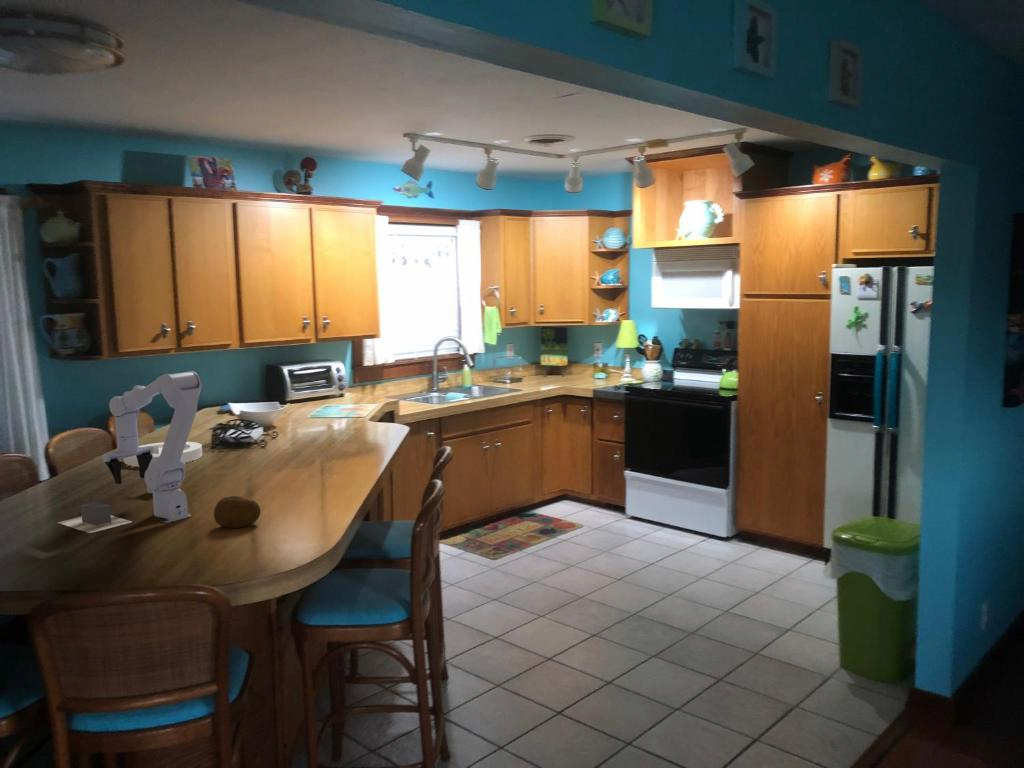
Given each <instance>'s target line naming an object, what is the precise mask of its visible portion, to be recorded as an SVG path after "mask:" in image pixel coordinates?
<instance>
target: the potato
mask: <svg viewBox="0 0 1024 768" xmlns="http://www.w3.org/2000/svg"><path fill="white" fill-rule="evenodd" d="M260 516H261V508H260V506H259V503H257V502H256V501H255V500H252V499H248V498H247V499H246V498H243V497H242V496H238V495H231V496H225V497H223V498H221V499H220V500H219V501H218V502H217V503H216V505H215V507H214V510H213V519H214V521H215V522H216V524H217V525H218V526H220V527H225V528H230V529H232V528H233V529H239V528H246V527H249V526H251V525H253V524H255V522H257V520H258V519H259V518H260Z"/></svg>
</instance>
